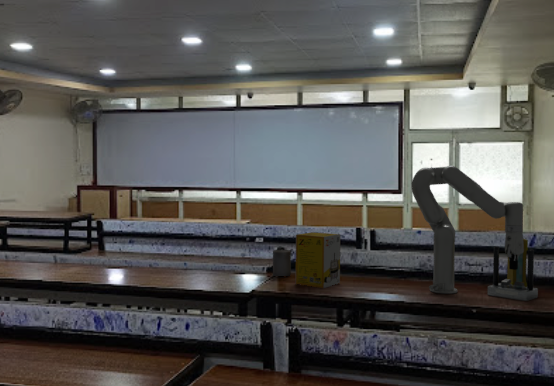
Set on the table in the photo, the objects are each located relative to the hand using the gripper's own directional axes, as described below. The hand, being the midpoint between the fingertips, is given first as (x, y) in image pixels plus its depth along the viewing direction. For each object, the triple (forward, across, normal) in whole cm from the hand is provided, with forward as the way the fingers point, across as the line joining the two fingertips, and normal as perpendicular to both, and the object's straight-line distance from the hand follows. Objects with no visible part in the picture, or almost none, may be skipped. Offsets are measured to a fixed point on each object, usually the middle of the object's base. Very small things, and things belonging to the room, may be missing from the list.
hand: (513, 269), depth 270 cm
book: (+13, +17, +6) cm, 22 cm away
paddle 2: (+7, 0, -3) cm, 8 cm away
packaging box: (+12, -44, +80) cm, 92 cm away
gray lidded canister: (+11, -41, +109) cm, 117 cm away
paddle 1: (+7, 0, +3) cm, 8 cm away
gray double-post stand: (+12, 0, 0) cm, 12 cm away
